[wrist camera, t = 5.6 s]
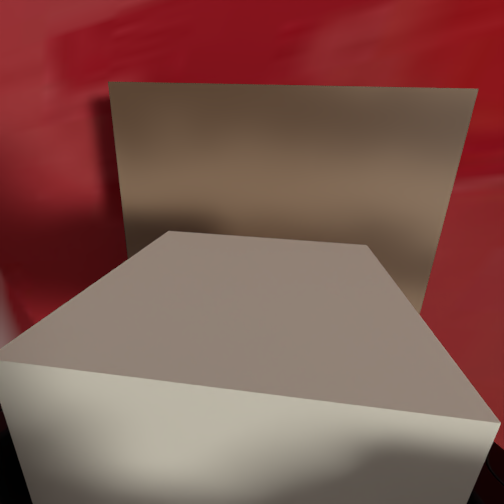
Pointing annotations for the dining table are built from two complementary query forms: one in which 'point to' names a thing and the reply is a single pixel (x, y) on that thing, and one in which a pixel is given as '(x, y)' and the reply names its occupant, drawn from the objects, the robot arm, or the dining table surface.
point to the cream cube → (242, 384)
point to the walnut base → (293, 165)
